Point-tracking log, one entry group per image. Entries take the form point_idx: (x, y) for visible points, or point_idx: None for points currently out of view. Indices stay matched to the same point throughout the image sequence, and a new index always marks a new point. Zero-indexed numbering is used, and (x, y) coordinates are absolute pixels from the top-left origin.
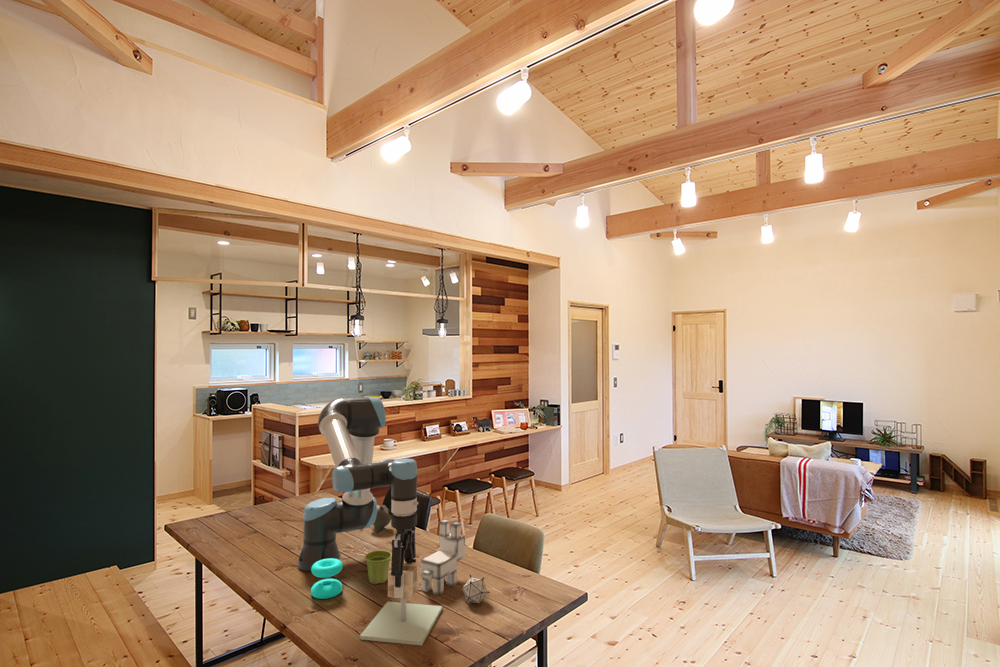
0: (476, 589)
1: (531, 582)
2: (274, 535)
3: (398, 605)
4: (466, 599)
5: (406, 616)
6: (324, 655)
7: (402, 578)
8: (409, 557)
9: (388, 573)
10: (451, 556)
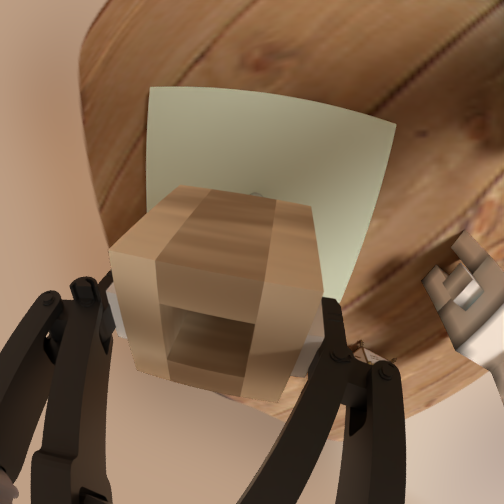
0: None
1: (404, 410)
2: None
3: (364, 168)
4: (361, 349)
5: None
6: (87, 40)
7: None
8: (295, 405)
9: (113, 248)
10: (488, 364)
